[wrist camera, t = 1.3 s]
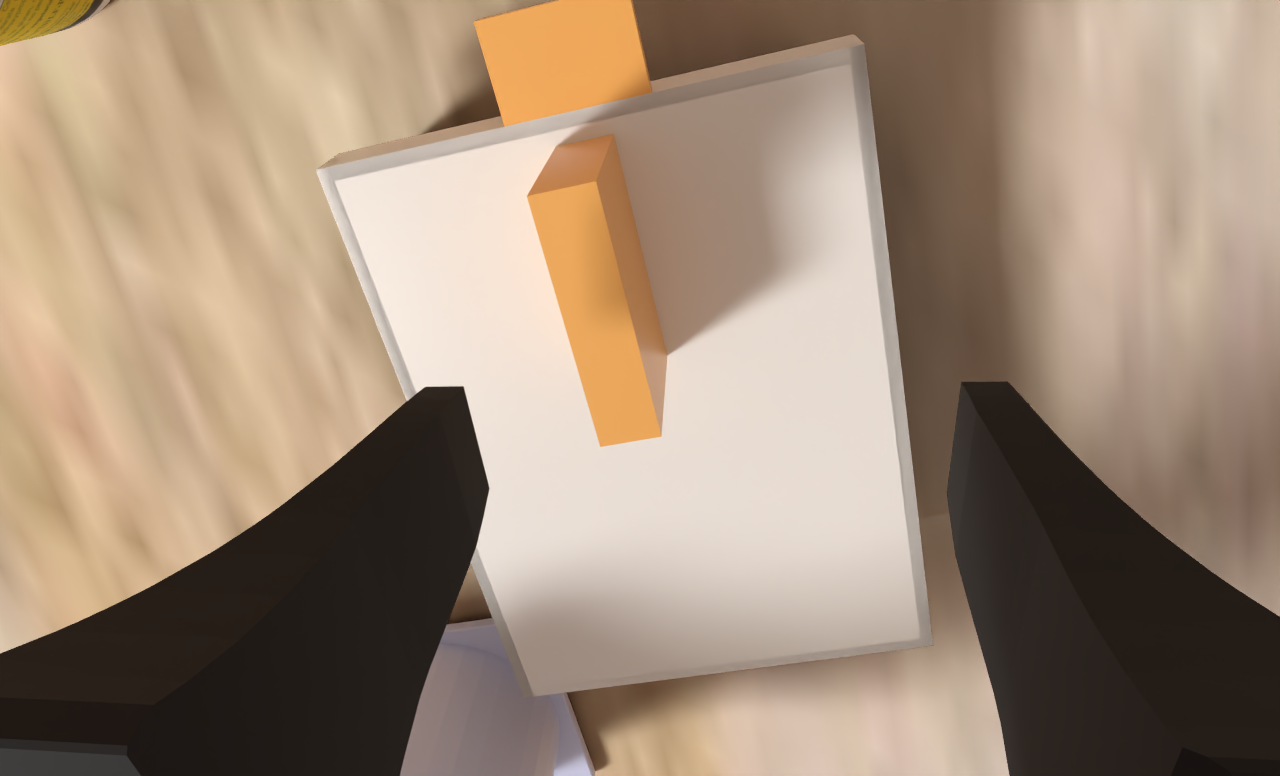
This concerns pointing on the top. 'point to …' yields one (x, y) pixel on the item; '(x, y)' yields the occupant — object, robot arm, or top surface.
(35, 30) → the supplement bottle
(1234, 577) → the top surface
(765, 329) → the lid
